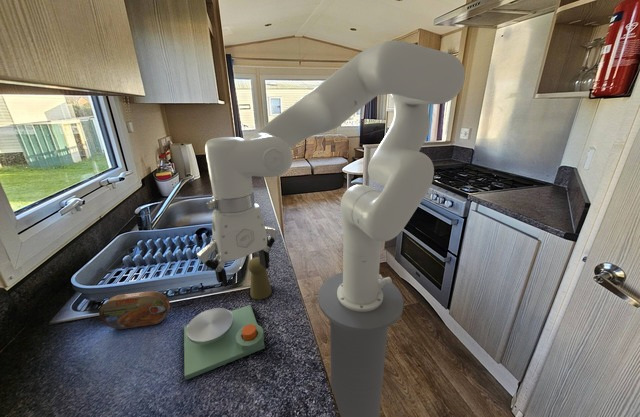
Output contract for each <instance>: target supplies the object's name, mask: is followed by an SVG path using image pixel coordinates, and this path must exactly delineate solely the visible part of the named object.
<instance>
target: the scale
mask: <svg viewBox="0 0 640 417" xmlns="http://www.w3.org/2000/svg"><path fill="white" fill-rule="evenodd" d="M253 310H254V309H253V308H252V305H251V304H248V305H245V306H242V307H239V308H235V309H233V310H229V311H230V312H231V313H232V315H233V320H234V321H233V326H232V328H231V329H230V331H229V332H228V333H227V334H226V335H225V336H224V337H222V338H221V339H219V340H217V341H215V342H212V343H209V344H195V343H193V342H191V341H190V340H189V338H188V336H187V327H188V325H189V324H187V325H184V326H183V356H184V357H183V359H184V360H183V362H184V364H183V367H184V370H183V371H184V372H183V373H184V375H183V376H184V379H185V381H188V380H190V379H193V378H195V377H197V376H200V375H202V374H204V373H207V372H210V371H212V370H214V369H217V368H219V367H222V366H224V365H228V364H229V363H232V362H234V361H237V360H239V359H242V358H244V357H247V356H249V355H251V354H254V353H256V352H259V351H261V350H263V349H265V348H266V346H265V342H264V340H265V332H264V329H263V327H262V326H261V325H259V324H258V322H257V319H256V316H255V313H254V311H253ZM249 324H252V325H254V326H255V327H256V332H257V335H256V337H255V338H254V339H253V340H251V341H245V340H244V339H243V335H242V329H243V328H244V327H245V326H246V325H249Z"/></svg>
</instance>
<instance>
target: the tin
mask: <svg viewBox="0 0 640 417" xmlns="http://www.w3.org/2000/svg"><path fill="white" fill-rule="evenodd" d="M170 309H171V303H170V301H169V298H168V296H166V295H165V294H164V293H162V292H160V291H156V290H147V291H140V292H138V291H137V292H132V293H124V294H117V295H114V296H112V297H110V298H109V299H108V300H107V301H105V302H104V304H102V305H101V306H100V308H99V310H98V316H99V319H100V320H101V322H102V323H103V324H104V325H106V326H107V327H109V328H112V329H115V330H124V329H131V328H138V327H146V326H152V325H153V326H154V325H157V324H159V323H161V322H163V321H165V319H166V318H167V316H168V313H169V311H170Z"/></svg>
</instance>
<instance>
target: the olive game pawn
mask: <svg viewBox="0 0 640 417" xmlns="http://www.w3.org/2000/svg"><path fill="white" fill-rule="evenodd" d="M247 269H248V271H249V272H250V294H249V295H250V297H251V298H252V299H254V300H258V301H259V300H264V299H267V298H268V297H269V296H271V294H272V286H271V283H270V280H269V276H268V272H267V269H266V268H264V267H263V266H262V265H261V264H260V259H259V256H255V257H252V258H251V259H250V260H249V261H248V263H247Z"/></svg>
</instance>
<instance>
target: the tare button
mask: <svg viewBox="0 0 640 417" xmlns="http://www.w3.org/2000/svg"><path fill="white" fill-rule="evenodd" d="M242 335H243V339H244V340H245V341H251V340H253V339H254V338H255V337H256V335H257V332H256V327H255V326H254V325H252V324H249V325H246V326H245V327H244V328H243V329H242Z"/></svg>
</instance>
